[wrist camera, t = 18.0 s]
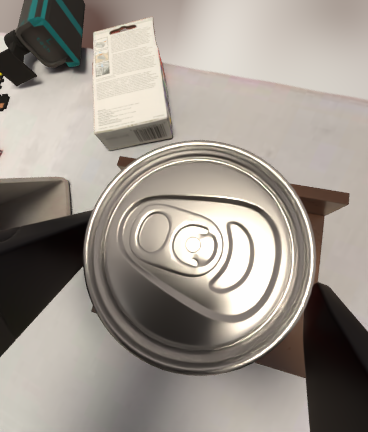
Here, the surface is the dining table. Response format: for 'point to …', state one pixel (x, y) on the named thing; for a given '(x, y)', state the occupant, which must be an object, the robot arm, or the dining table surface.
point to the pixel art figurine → (3, 96)
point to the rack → (316, 209)
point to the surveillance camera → (44, 37)
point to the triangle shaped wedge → (32, 200)
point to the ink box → (129, 87)
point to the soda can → (199, 258)
